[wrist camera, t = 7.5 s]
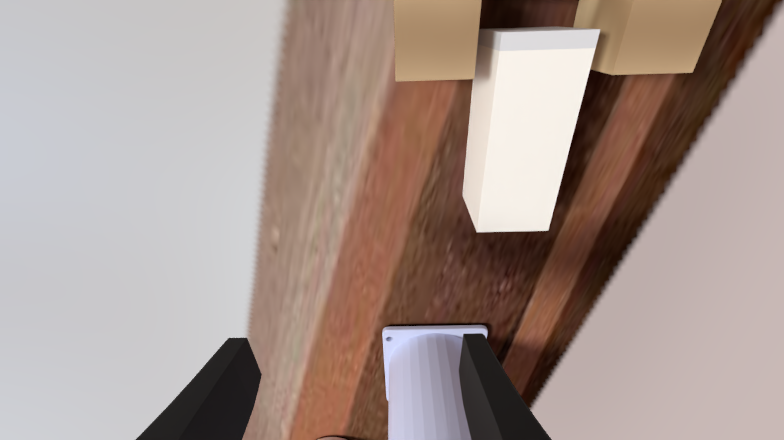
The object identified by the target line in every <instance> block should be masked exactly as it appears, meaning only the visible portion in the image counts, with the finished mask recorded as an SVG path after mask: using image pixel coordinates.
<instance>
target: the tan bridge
mask: <svg viewBox="0 0 784 440" xmlns="http://www.w3.org/2000/svg"><path fill="white" fill-rule="evenodd" d="M481 1H482V0H394V33H395V77H396V81H424V80H458V79H474V76H475V65H476V54H477V44H478V33H479V22H480V12H481ZM721 2H722V0H579V4H578V8H577V13H576V17H575V22H574V26H573V28H589V29H600V33H599V37H598V41H597V45H596V49H595V52H594V56H593V60H592V64H591V68H590V69H591V70H595V71H599V72H603V73H606V74H610V75H629V74H664V73H693V70H694V68H695V65H696V63H697V60H698V58H699V56H700V53H701V51H702V48H703V46H704V43H705V41H706V38H707V36H708V34H709V31H710V29H711V26H712V24H713V21H714V19H715V16H716V14H717V11H718V9H719V7H720V4H721Z"/></svg>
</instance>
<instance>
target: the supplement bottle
mask: <svg viewBox="0 0 784 440" xmlns="http://www.w3.org/2000/svg"><path fill="white" fill-rule="evenodd" d="M317 440H347V439H344V438H340V437H324V438H320V439H317Z"/></svg>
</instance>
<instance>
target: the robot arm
mask: <svg viewBox="0 0 784 440" xmlns="http://www.w3.org/2000/svg"><path fill="white" fill-rule="evenodd" d="M382 335H383V350H384V366H385V382H386V398H387V400H388V401H389V413H388V440H551V438H550V437H549V436H548V434H547V433H546V432H545V430H544V429H543V428H542V426H541V425H540V423H539V422H538V421H537V419H536V418H535V417H534V415H533V414H532V412H531V411H530V409H529V408H528V406H527V405H526V404H525V402H524V401H523V399H522V398H521V396H520V394H519V393H518V391H517V390H516V388H515V387H514V385H513V384H512V382H511V381H510V379H509V377H508V376H507V374H506V373H505V371H504V369H503V368H502V366H501V364H500V363H499V361H498V359H497V357H496V356H495V354H494V352H493V350H492V348H491V347H490V345H489V343H488V341H487V335H488V330H487V327H486V326H484V325H451V326H389V327H385V328H384V329H383V333H382ZM261 375H262V374H261V372H260V369H259V367H258V364H257V362H256V359H255V357H254V354H253V352H252V349H251V347H250V344H249V342H248V339H247V338H229V339H228V340H227V341H226V342H225V343H224V344H223V345H222V346H221V347H220V349H219V350H218V351H217V352H216V353H215V354H214V355H213V357H212V358H211V359H210V360H209V361H208V362H207V363H206V365H205V366H204V367H203V368H202V369H201V370H200V372H199V373H198V374H197V375H196V376H195V377H194V378H193V379H192V381H191V382H190V383H189V384H188V385H187V386H186V387H185V388H184V389H183V390H182V392H181V393H180V394H179V395H178V396H177V397H176V398H175V399H174V400H173V401H172V403H171V404H170V405H169V406H168V407H167V408H166V409H165V410H164V411H163V412H162V413H161V414H160V415H159V416H158V417H157V418H156V419H155V420H154V421H153V422H152V424H151V425H150V426H149V427H148V428H147V429H146V430H145V431H144V432H143V433H142V434H141V435H140V436H139V437H138V438H137V439H136V440H242V438H243V435H244V432H245V430H246V427H247V424H248V421H249V419H250V416H251V413H252V410H253V407H254V404H255V400H256V396H257V392H258V388H259V384H260V379H261Z"/></svg>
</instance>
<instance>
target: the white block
mask: <svg viewBox="0 0 784 440" xmlns="http://www.w3.org/2000/svg"><path fill="white" fill-rule="evenodd" d="M599 33H600V29H589V28H571V27H523V28H493V29H479V33H478V44H477V54H476V65H475V76H474V79H473V86H472V97H471V108H470V119H469V130H468V141H467V152H466V163H465V173H464V184H463V198H464V200H465V203H466V206H467V208H468V211H469V213H470V216H471V219H472V221H473V224H474V226H475V229H476V232H513V231H548V230H549V226H550V222H551V218H552V214H553V211H554V207H555V203H556V199H557V195H558V191H559V187H560V184H561V180H562V176H563V172H564V168H565V164H566V160H567V157H568V153H569V149H570V145H571V141H572V137H573V133H574V130H575V126H576V122H577V118H578V114H579V110H580V106H581V103H582V99H583V95H584V91H585V87H586V83H587V79H588V76H589V72H590V68H591V64H592V60H593V56H594V52H595V49H596V45H597V41H598V37H599Z"/></svg>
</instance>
